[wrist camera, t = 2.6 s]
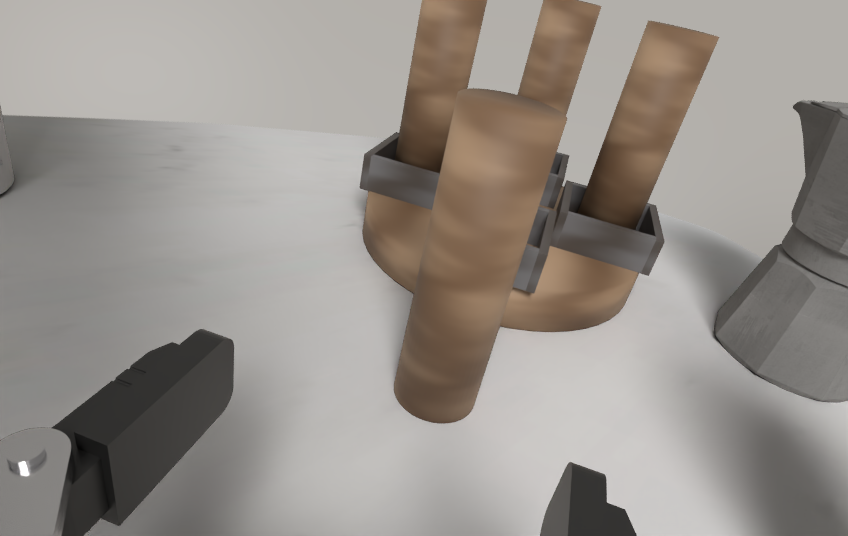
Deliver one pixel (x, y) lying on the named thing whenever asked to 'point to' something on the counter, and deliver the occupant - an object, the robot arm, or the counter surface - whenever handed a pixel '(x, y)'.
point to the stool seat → (560, 206)
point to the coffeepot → (802, 276)
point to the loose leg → (474, 247)
